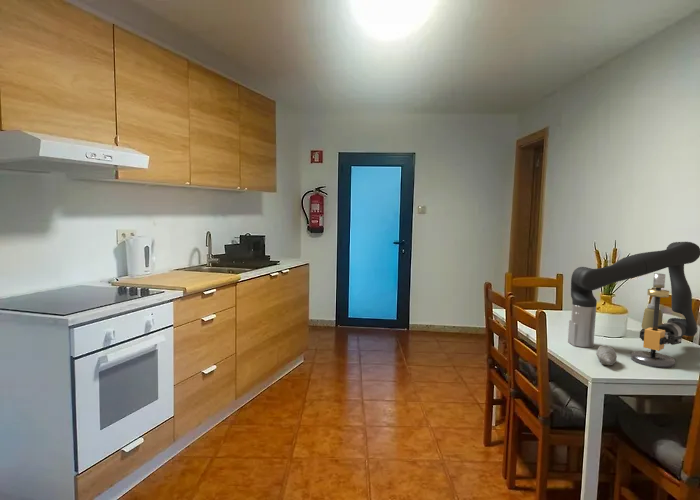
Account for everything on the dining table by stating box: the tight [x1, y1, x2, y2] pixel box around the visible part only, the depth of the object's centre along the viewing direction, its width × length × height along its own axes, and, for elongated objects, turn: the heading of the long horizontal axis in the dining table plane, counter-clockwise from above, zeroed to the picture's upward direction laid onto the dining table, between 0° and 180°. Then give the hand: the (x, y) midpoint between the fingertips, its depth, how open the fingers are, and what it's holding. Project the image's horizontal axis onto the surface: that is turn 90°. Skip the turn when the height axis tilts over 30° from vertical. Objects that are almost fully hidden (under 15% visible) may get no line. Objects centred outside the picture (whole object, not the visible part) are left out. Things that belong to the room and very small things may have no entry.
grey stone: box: [595, 344, 618, 366], centre depth 174 cm, size 6×14×8 cm, turn 160°
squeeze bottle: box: [641, 296, 663, 330], centre depth 214 cm, size 8×8×18 cm
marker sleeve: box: [642, 328, 665, 352], centre depth 176 cm, size 5×5×7 cm
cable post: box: [630, 272, 676, 369], centre depth 175 cm, size 14×14×34 cm
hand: (651, 340), depth 174 cm, fingers open, 5 cm apart
